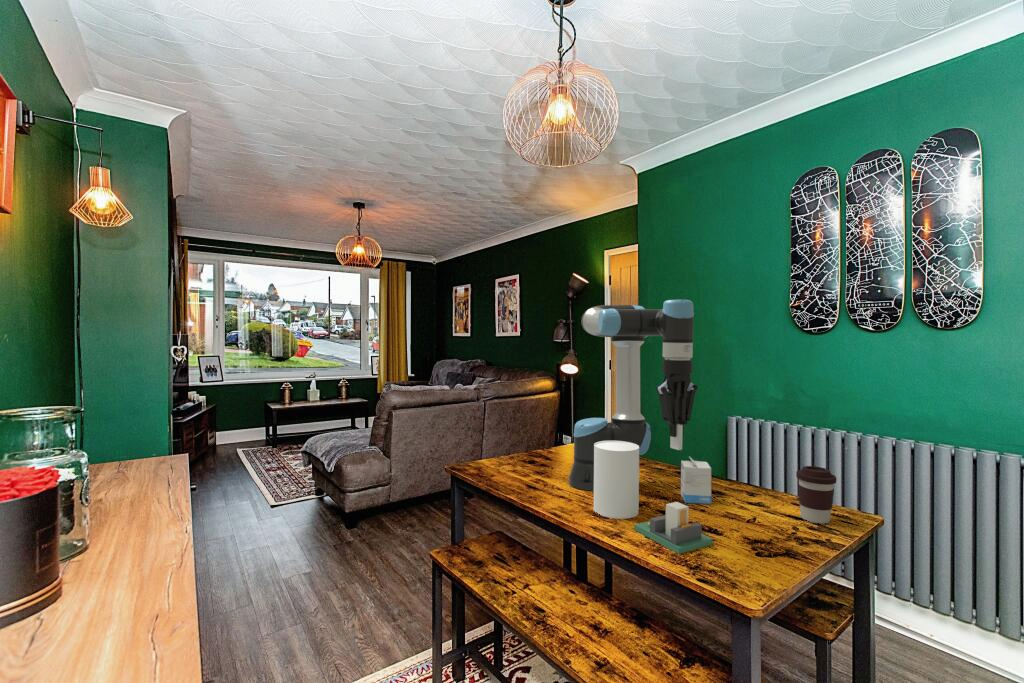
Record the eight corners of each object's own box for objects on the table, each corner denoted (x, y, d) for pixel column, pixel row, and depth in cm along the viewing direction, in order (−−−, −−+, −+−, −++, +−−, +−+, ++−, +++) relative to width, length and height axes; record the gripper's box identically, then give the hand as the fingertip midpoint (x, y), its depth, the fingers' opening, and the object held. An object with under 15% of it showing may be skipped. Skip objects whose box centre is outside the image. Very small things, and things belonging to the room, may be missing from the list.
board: (634, 529, 132) (634, 510, 132) (666, 522, 137) (666, 503, 137) (679, 554, 117) (679, 532, 117) (712, 544, 123) (713, 523, 123)
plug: (665, 534, 125) (665, 504, 125) (676, 531, 127) (676, 501, 127) (677, 540, 122) (678, 509, 122) (688, 537, 124) (689, 506, 123)
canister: (584, 507, 149) (585, 443, 148) (616, 499, 156) (617, 438, 155) (614, 522, 137) (615, 453, 137) (648, 513, 144) (648, 447, 144)
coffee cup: (822, 528, 133) (823, 475, 133) (788, 516, 142) (789, 466, 142) (842, 522, 138) (843, 471, 138) (808, 511, 147) (809, 462, 146)
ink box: (711, 504, 152) (712, 463, 151) (684, 502, 153) (684, 461, 153) (706, 495, 160) (706, 456, 160) (680, 493, 162) (680, 454, 161)
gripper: (669, 360, 118) (668, 454, 118) (706, 359, 124) (705, 449, 124) (648, 358, 125) (647, 448, 125) (684, 357, 131) (683, 443, 131)
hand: (676, 448), depth 125 cm, fingers closed
